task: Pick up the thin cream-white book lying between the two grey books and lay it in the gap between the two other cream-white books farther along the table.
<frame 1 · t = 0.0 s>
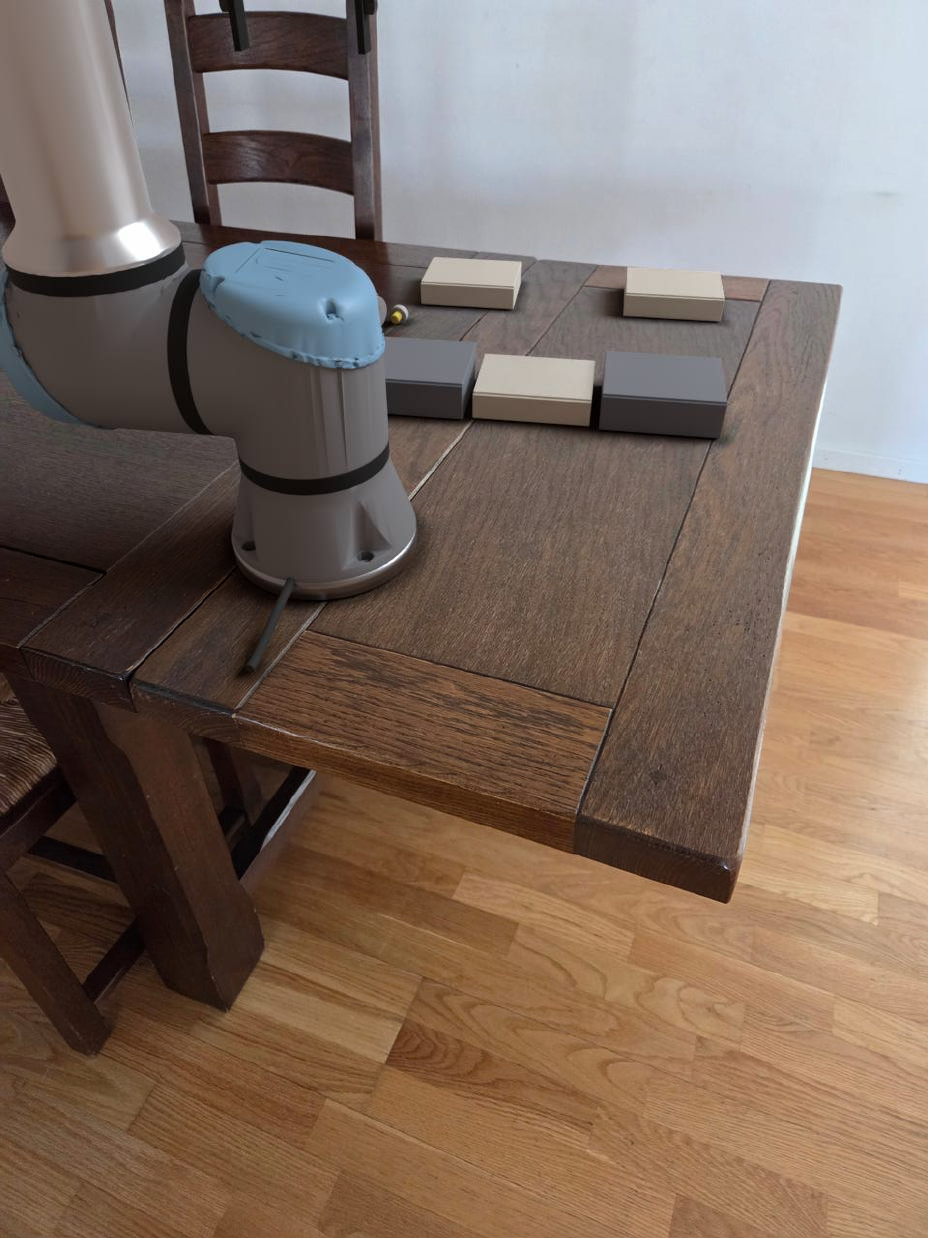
hand: (303, 51, 92), 28 cm above the table, tool pointing down, fingers open, 13 cm apart
white book: (534, 401, 92), on the table
white book 3: (472, 293, 114), on the table
grey book 1: (657, 410, 90), on the table
grey book 2: (415, 393, 93), on the table
white book 2: (670, 304, 111), on the table
reed diffuser: (330, 314, 110), on the table
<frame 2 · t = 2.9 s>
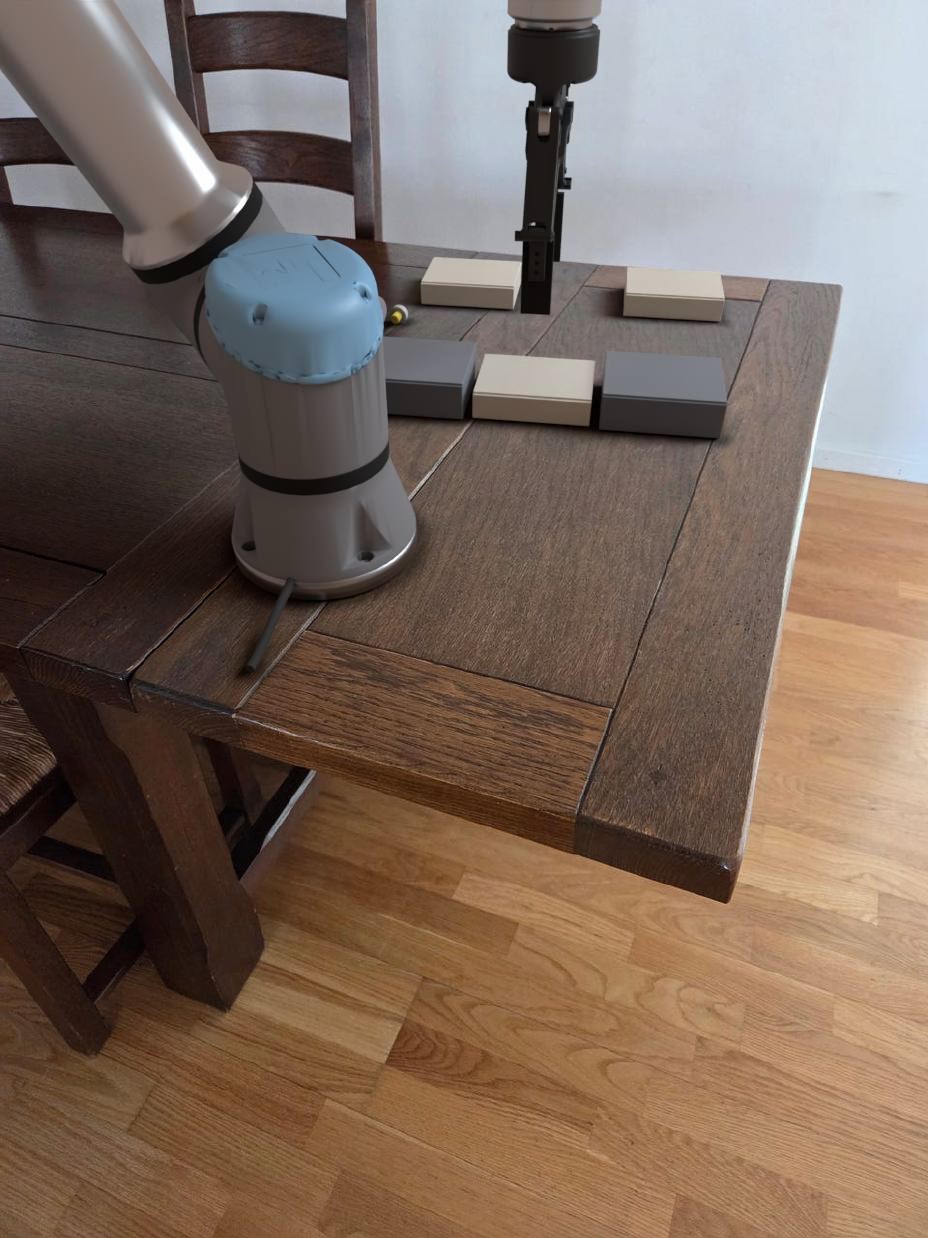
hand: (541, 285, 84), 12 cm above the table, tool pointing down, fingers open, 13 cm apart
nothing on the table moved.
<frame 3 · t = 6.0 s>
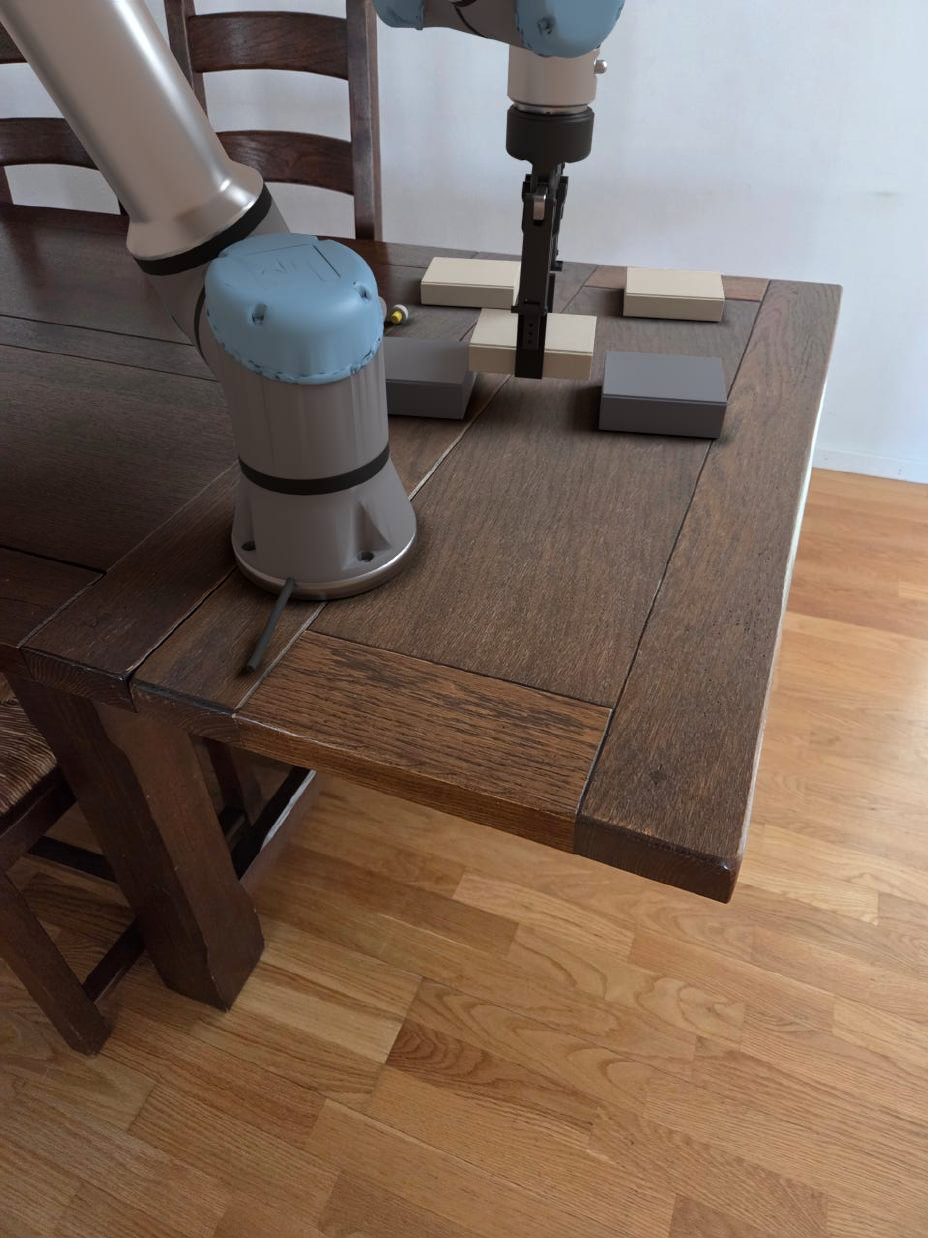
hand: (533, 355, 88), 5 cm above the table, tool pointing down, fingers closed on white book, 9 cm apart
white book: (533, 357, 88), point 5 cm above the table, touching gripper
everything else where it was.
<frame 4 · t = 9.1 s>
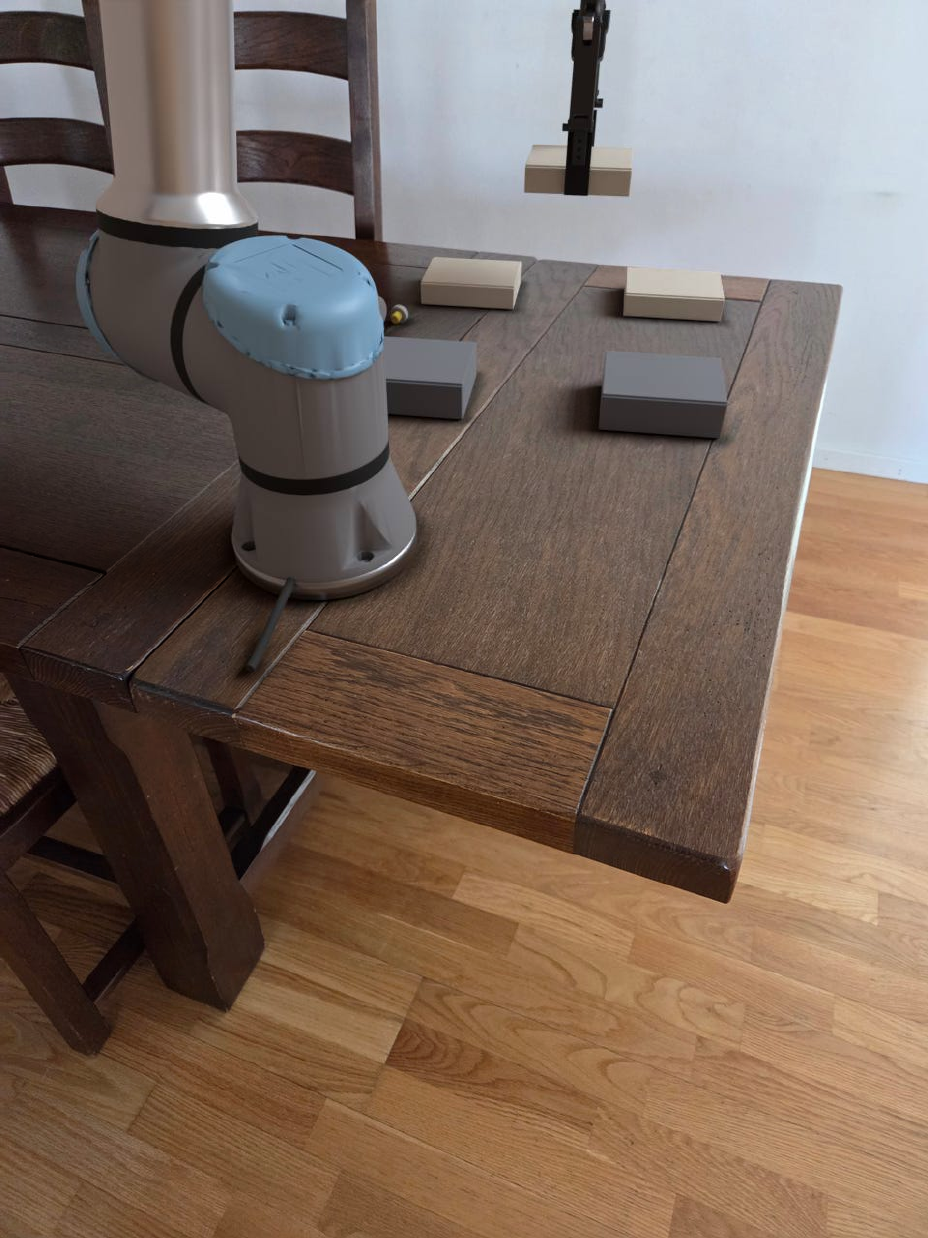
hand: (578, 181, 101), 15 cm above the table, tool pointing down, fingers closed on white book, 9 cm apart
white book: (578, 183, 102), point 15 cm above the table, touching gripper
everything else where it was.
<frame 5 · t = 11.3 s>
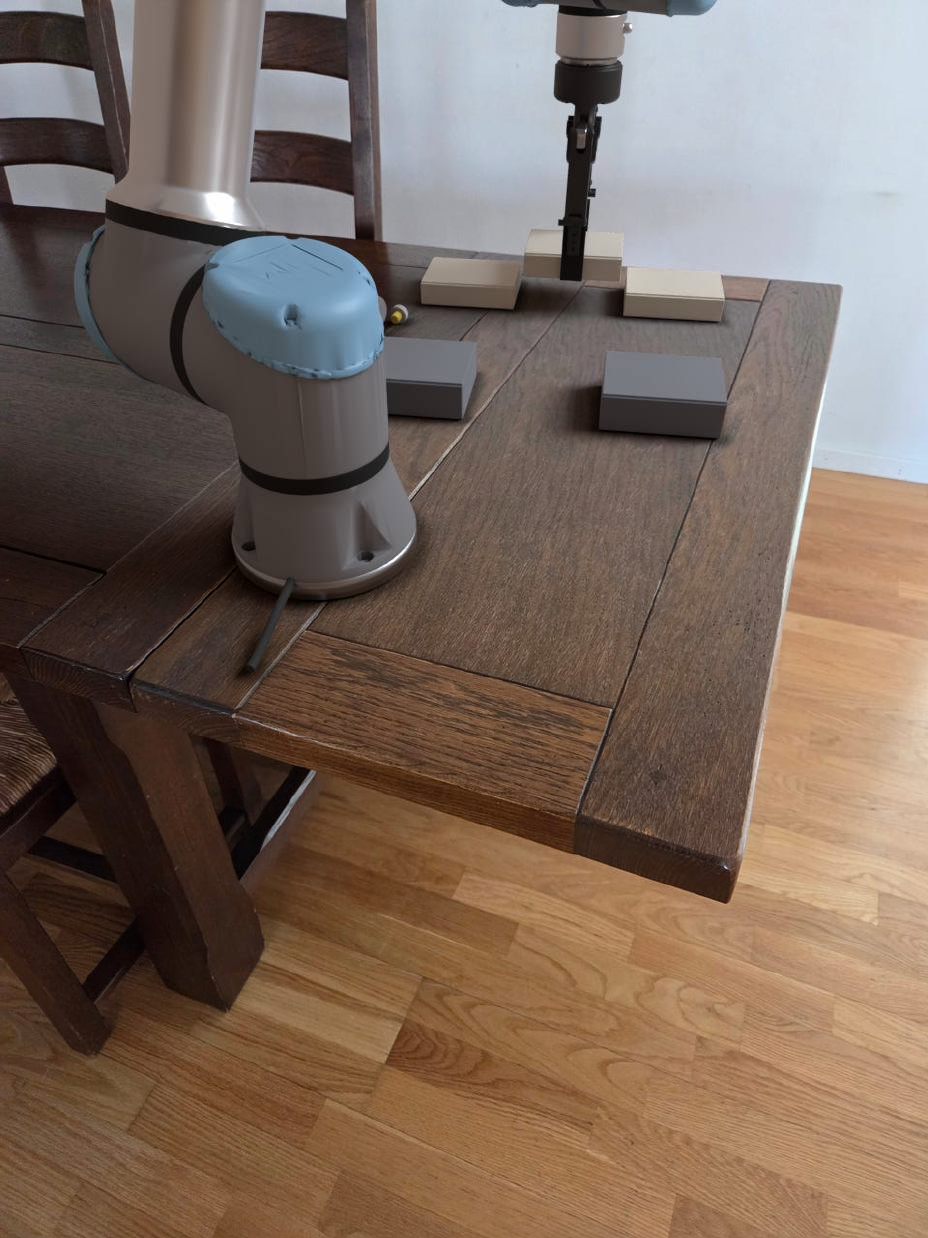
hand: (573, 265, 110), 4 cm above the table, tool pointing down, fingers closed on white book, 9 cm apart
white book: (573, 266, 110), point 4 cm above the table, touching gripper
everything else where it was.
when the fingers open (0 cm above the table, at t = 12.7 s): white book stays where it is, on the table.
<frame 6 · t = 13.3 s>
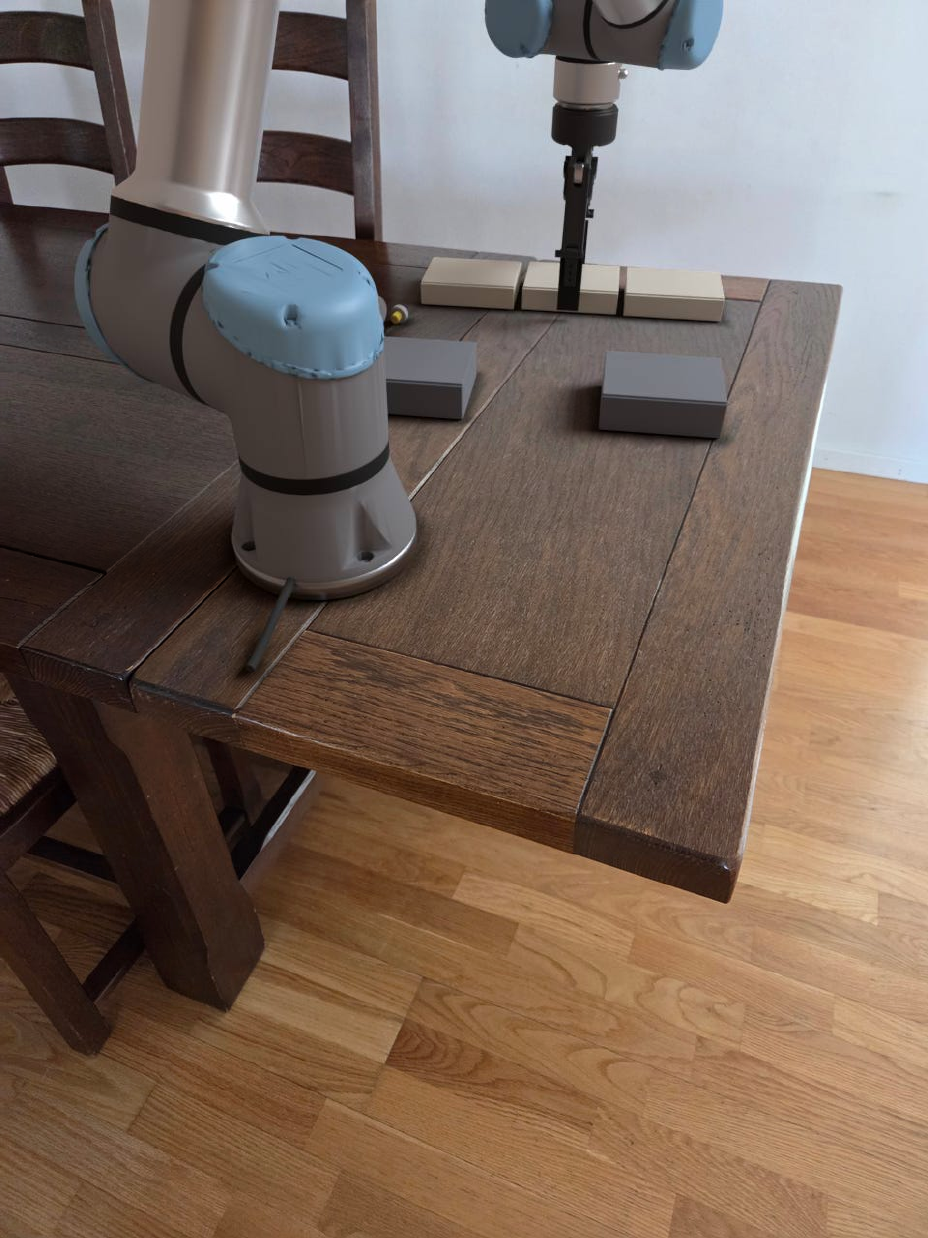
hand: (570, 289, 112), 1 cm above the table, tool pointing down, fingers open, 13 cm apart
white book: (570, 298, 113), on the table
everything else where it was.
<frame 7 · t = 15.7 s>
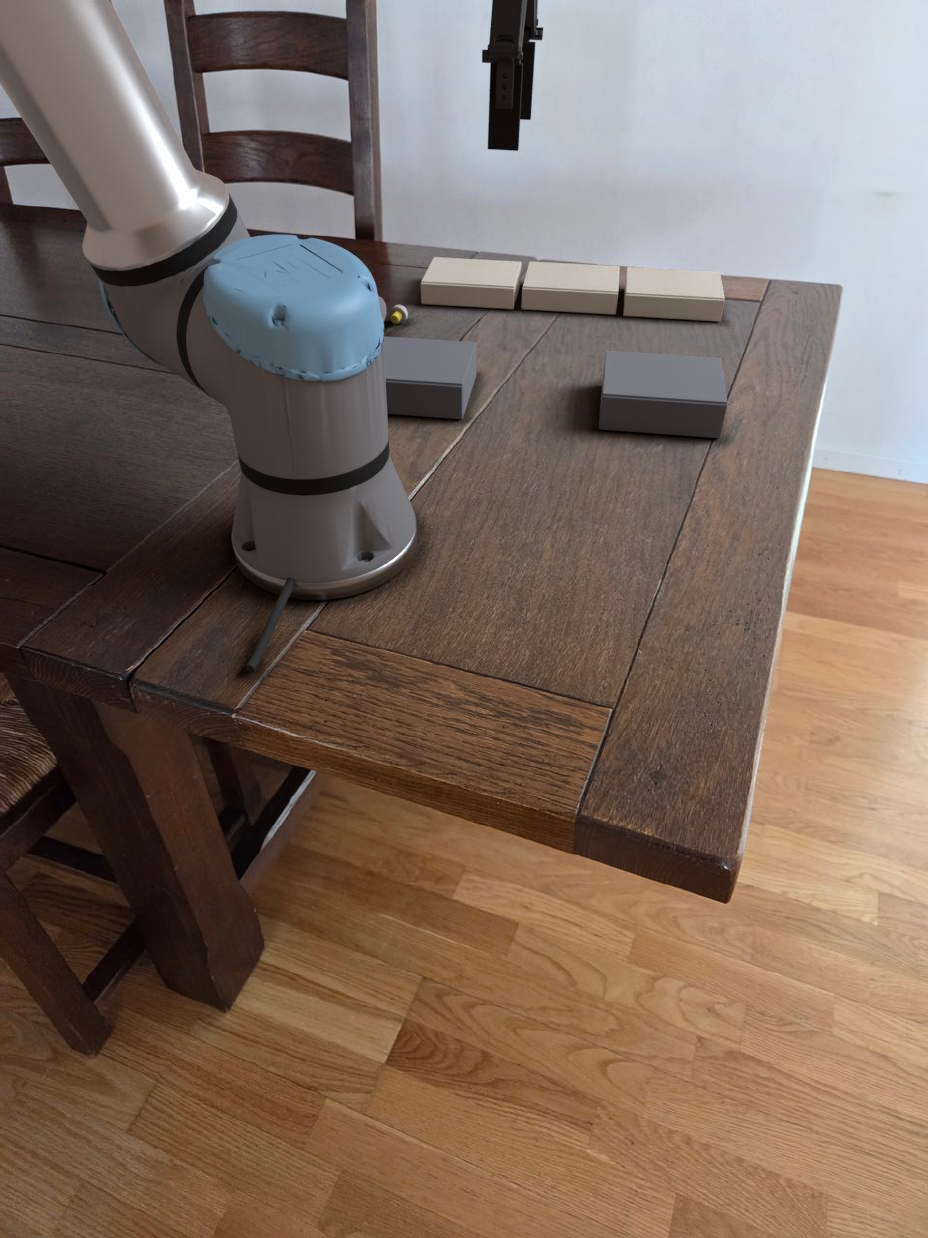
hand: (510, 133, 82), 24 cm above the table, tool pointing down, fingers open, 13 cm apart
nothing on the table moved.
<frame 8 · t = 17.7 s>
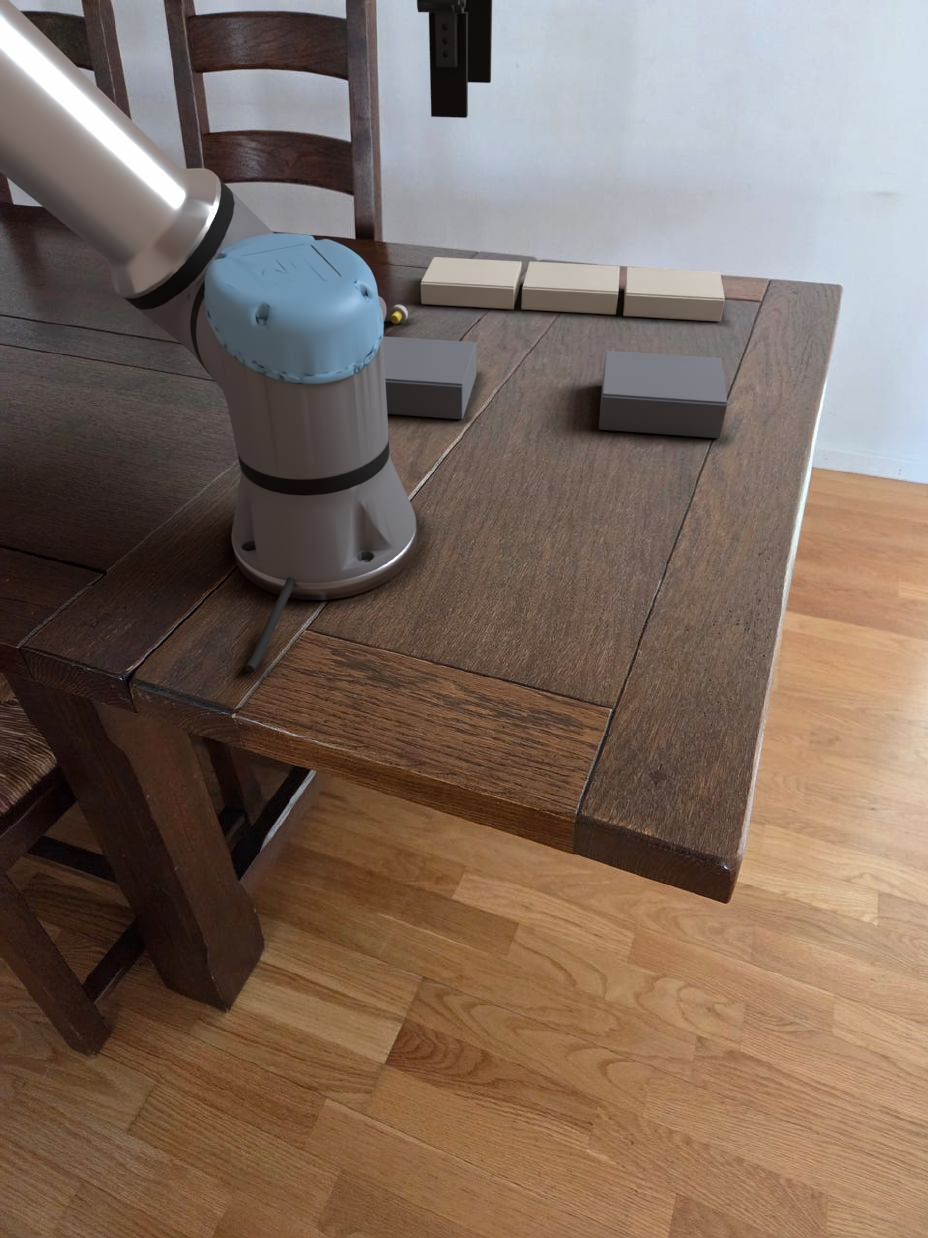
hand: (463, 98, 70), 29 cm above the table, tool pointing down, fingers open, 13 cm apart
nothing on the table moved.
at the end: white book 0.2 cm from the target spot on the table beside the white book 3, on the table; white book tilted 0°; the gripper is holding nothing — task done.
